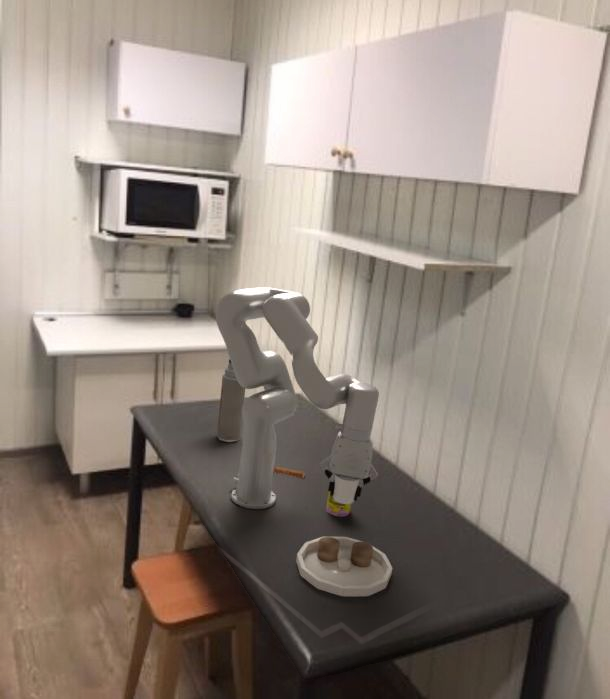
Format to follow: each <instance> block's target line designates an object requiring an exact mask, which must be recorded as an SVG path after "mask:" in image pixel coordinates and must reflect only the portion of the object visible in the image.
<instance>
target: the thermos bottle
mask: <svg viewBox="0 0 610 699" xmlns="http://www.w3.org/2000/svg"><path fill="white" fill-rule="evenodd" d="M245 395H246V389H245V388H243V387H241V386H240V384H239V383H238V381H237V378H236V375H235V373H234V369H233V366H232V363H231V360H230V358H229V359H228V365H227V367H225V370H224V373H223V374H222V379H221V389H220V401H219V411H218V421H217V422H218V423H217V431H216V432H217V433H216V437H217V436H218V437H219V438H221V439H224V440H238V439H239V438H240V439H241V437H242V436H241V434H242V428H243V421H242V407H243V404H244V402H245V397H246V396H245Z"/></svg>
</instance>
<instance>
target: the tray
mask: <svg viewBox="0 0 610 699" xmlns="http://www.w3.org/2000/svg"><path fill="white" fill-rule="evenodd" d="M322 537H323V536H321V537H320V536H319V537H318V538H315V539H313V540H308V541H305V542H304V544H303V545H302V546H301V547H300V549H299V550H298V552H297V554H296V560H295V561H296V565H297V569H298V572H299V575H300V577H302V578H303V579H304V580H306V581H307V582H308V583H309V584H311V585H312V586H313V587H314V588H316V589H317V590H321V591H324V592H327V593H330V594H333V595H336V596H340V597H354V598H355V597H370V596H372V595H374V594H377V593H378V592H381V591H383V590H385V589H387V587H388V584H389V581H390V580H391V576H392V573H393V566H392V565H391V562H390V560H389V559H388V557H387V555H386V553H384V552H383V551H381V550H380V549H378V548H376V547H375V546H373V545H371V544H370V543H368V542H367V543H368V544H370V545H371V546H372V547H373V552H372V559H371V564H370V566H368V567H357V566H355V565H353V564H352V563H351V560H350V559H351V552H352V545H353V543H355V542H363V541H362V540H359V539H355V538H351V537H348V536H331V537H332V538H335V539H337V540H338V541H339V543H340V545H339V551H338V558H337V560H336V561H335V562H324V561H321V560H320V559H319V558H318V557H317V553H318V546H319V540H320V538H322Z"/></svg>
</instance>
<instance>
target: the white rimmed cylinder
mask: <svg viewBox="0 0 610 699" xmlns="http://www.w3.org/2000/svg"><path fill="white" fill-rule="evenodd" d="M359 480H360V479H358V478H354V477H349V476H343V475H335V480H334V482H335V488H334V493H333V499H334V500H335V501H336V502H339V503H342V504H351V505H352V504H353V503H354V502H355V500H354V497H355V492H356V489H357V487H358V485H359Z"/></svg>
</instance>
